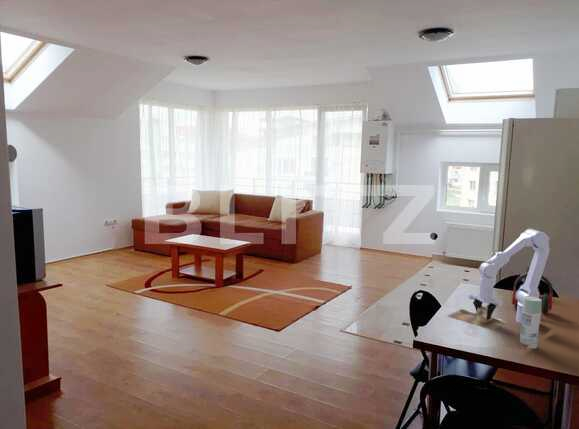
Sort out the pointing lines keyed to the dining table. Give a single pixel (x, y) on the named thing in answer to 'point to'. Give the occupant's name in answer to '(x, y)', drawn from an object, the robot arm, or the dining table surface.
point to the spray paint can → (530, 321)
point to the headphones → (545, 299)
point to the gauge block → (482, 314)
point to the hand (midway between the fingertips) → (483, 317)
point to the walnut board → (472, 316)
